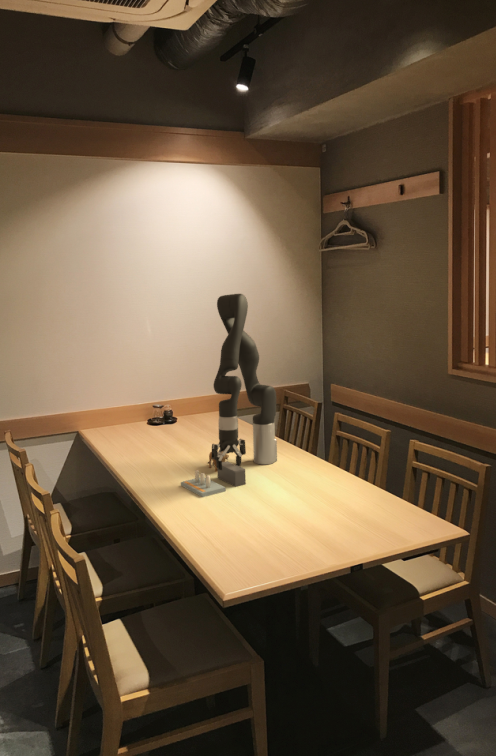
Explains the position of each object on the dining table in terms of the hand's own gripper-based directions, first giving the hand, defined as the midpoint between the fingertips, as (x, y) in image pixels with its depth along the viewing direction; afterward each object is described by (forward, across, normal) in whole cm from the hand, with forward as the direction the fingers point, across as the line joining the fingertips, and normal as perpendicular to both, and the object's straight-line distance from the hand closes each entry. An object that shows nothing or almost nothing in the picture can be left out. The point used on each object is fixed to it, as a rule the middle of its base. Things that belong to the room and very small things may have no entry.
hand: (229, 467), depth 251 cm
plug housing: (+6, -1, 0) cm, 6 cm away
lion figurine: (+6, -5, -16) cm, 18 cm away
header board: (+6, +12, +1) cm, 13 cm away
